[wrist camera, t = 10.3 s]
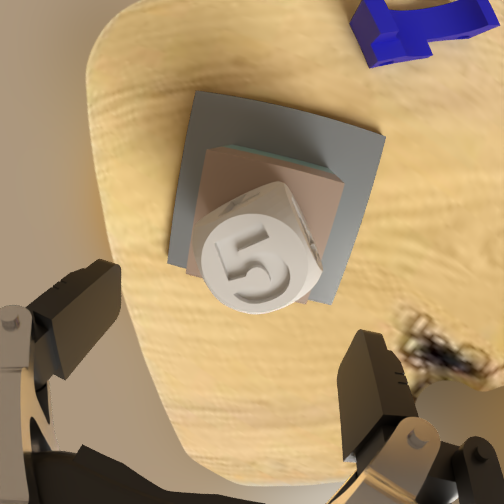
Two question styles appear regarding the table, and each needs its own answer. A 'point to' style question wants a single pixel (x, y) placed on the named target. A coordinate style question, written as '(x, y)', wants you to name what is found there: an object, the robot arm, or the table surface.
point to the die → (257, 251)
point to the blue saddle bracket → (416, 28)
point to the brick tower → (276, 174)
